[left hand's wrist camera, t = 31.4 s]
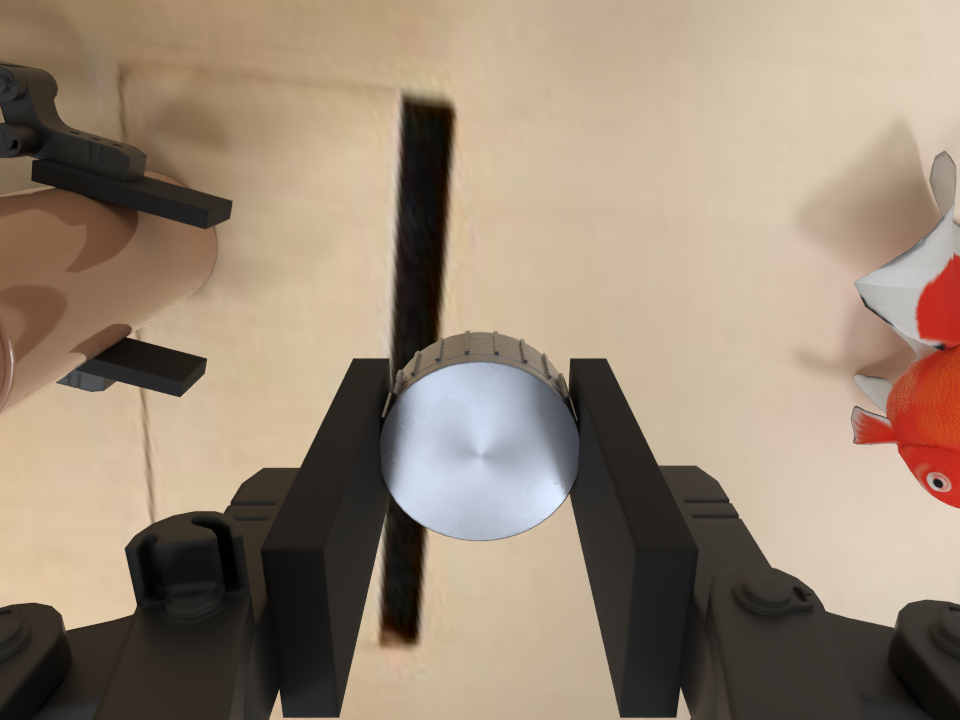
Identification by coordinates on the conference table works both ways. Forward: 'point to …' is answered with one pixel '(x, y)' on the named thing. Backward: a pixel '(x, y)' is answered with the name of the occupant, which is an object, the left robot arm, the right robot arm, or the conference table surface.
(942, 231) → the fish
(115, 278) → the bottle
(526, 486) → the cap
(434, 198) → the conference table surface
